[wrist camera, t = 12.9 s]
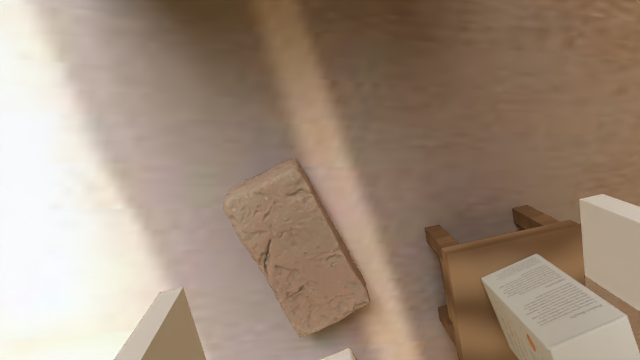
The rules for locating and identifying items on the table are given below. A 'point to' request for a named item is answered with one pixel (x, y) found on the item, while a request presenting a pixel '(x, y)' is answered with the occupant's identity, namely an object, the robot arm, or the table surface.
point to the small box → (556, 315)
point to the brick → (296, 247)
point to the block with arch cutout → (342, 355)
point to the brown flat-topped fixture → (488, 257)
